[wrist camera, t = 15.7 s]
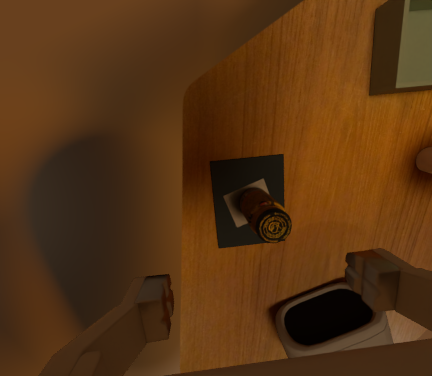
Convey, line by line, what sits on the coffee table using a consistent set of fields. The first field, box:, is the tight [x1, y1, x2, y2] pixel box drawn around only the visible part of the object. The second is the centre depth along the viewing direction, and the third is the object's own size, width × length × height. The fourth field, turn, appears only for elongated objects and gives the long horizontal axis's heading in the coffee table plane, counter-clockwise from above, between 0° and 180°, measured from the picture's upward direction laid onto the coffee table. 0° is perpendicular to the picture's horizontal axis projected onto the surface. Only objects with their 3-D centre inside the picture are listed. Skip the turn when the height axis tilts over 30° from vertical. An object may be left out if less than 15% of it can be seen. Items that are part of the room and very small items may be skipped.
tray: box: [370, 0, 432, 95], centre depth 34 cm, size 14×13×5 cm
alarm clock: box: [275, 282, 394, 358], centre depth 42 cm, size 21×10×13 cm, turn 113°
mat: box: [210, 154, 285, 248], centre depth 41 cm, size 18×14×1 cm
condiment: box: [223, 179, 292, 243], centre depth 35 cm, size 7×8×12 cm
